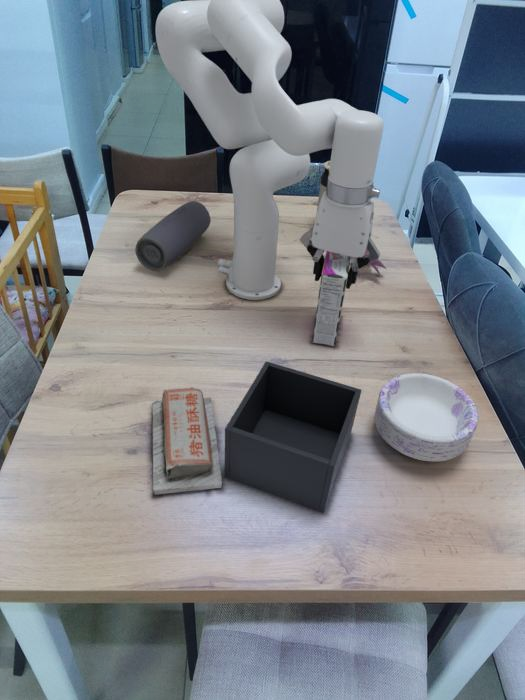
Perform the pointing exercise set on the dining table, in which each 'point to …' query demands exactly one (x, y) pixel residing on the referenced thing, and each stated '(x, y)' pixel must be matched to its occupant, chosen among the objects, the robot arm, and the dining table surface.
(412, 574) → the dining table surface
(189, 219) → the bluetooth speaker
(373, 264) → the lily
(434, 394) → the paper bowls
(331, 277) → the candy bar box
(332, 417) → the open storage box
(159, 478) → the packaged product
